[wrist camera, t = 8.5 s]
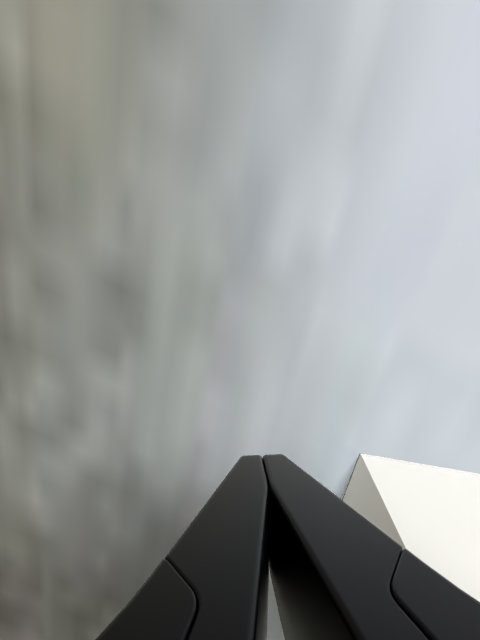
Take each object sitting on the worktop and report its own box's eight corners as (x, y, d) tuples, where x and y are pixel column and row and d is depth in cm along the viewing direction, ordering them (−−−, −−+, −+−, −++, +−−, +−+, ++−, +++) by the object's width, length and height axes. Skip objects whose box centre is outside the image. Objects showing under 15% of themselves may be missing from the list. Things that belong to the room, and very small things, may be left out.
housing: (328, 537, 25) (392, 762, 15) (360, 453, 23) (456, 652, 13) (489, 560, 26) (642, 785, 16) (532, 482, 24) (735, 686, 14)
